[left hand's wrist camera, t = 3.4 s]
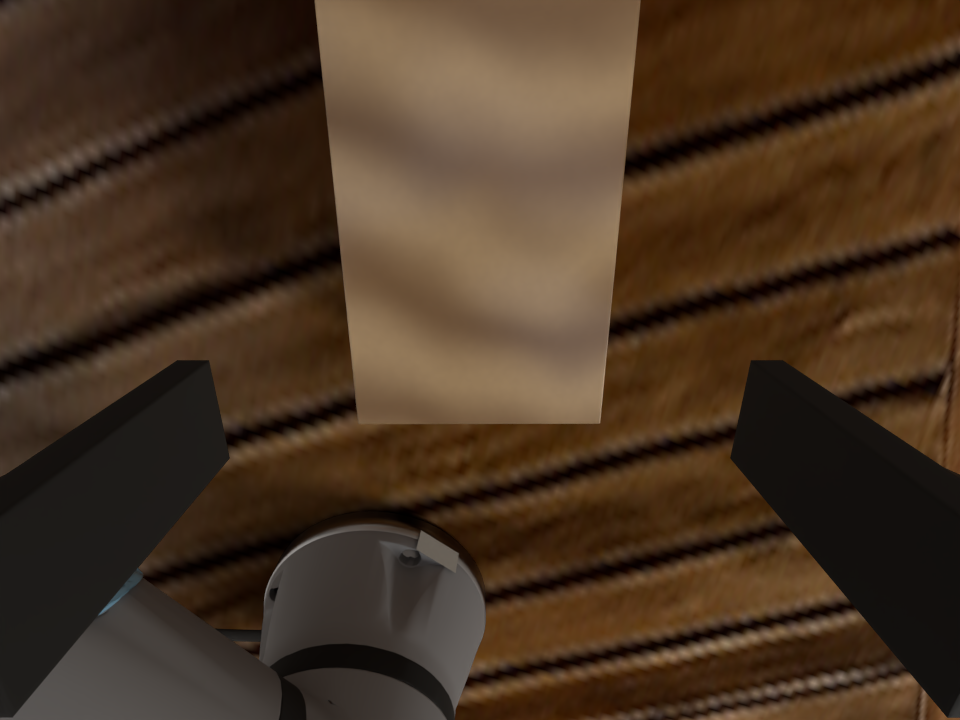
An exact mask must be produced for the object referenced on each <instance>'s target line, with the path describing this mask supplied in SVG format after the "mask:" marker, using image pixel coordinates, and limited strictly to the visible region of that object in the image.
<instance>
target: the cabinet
mask: <svg viewBox="0 0 960 720" xmlns="http://www.w3.org/2000/svg"><path fill="white" fill-rule="evenodd" d="M640 1H641V0H315V10H316V19H317V29H318V39H319V48H320V58H321V68H322V77H323V87H324V97H325V106H326V116H327V126H328V136H329V145H330V155H331V165H332V174H333V184H334V194H335V203H336V213H337V223H338V232H339V242H340V252H341V261H342V271H343V281H344V291H345V300H346V310H347V320H348V329H349V339H350V349H351V358H352V368H353V378H354V387H355V397H356V407H357V417H358V424H599V423H600V419H601V409H602V398H603V388H604V377H605V367H606V356H607V346H608V335H609V325H610V314H611V304H612V294H613V283H614V273H615V262H616V252H617V241H618V231H619V220H620V210H621V199H622V189H623V179H624V168H625V158H626V147H627V137H628V126H629V116H630V105H631V95H632V84H633V74H634V64H635V53H636V43H637V32H638V22H639V11H640Z"/></svg>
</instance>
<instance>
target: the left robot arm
mask: <svg viewBox="0 0 960 720" xmlns="http://www.w3.org/2000/svg"><path fill="white" fill-rule="evenodd" d="M229 458H230V457H229V453H228V448H227V443H226V439H225V434H224V429H223V425H222V420H221V415H220V410H219V406H218V401H217V396H216V392H215V387H214V382H213V377H212V373H211V368H210V363H209V360H177V361H176V362H174V363H173V364H171V365H170V366H168V367H167V368H165V369H164V370H162V371H161V372H159V373H158V374H156V375H155V376H153V377H152V378H150V379H149V380H147V381H146V382H144V383H143V384H141V385H140V386H138V387H137V388H135V389H134V390H132V391H131V392H129V393H128V394H126V395H125V396H123V397H122V398H120V399H119V400H117V401H116V402H114V403H113V404H111V405H110V406H108V407H107V408H105V409H104V410H102V411H101V412H99V413H98V414H96V415H95V416H93V417H92V418H90V419H89V420H87V421H86V422H84V423H83V424H81V425H80V426H78V427H77V428H75V429H74V430H72V431H71V432H69V433H68V434H66V435H65V436H63V437H62V438H60V439H59V440H57V441H56V442H54V443H53V444H51V445H50V446H48V447H46V448H45V449H43V450H42V451H40V452H39V453H37V454H36V455H34V456H33V457H31V458H30V459H28V460H27V461H25V462H24V463H22V464H21V465H19V466H18V467H16V468H15V469H13V470H12V471H10V472H9V473H7V474H6V475H4V476H1V477H0V720H455V710H456V707H457V704H458V701H459V699H460V696H461V693H462V691H463V688H464V685H465V683H466V680H467V677H468V675H469V672H470V669H471V666H472V663H473V661H474V658H475V655H476V652H477V650H478V647H479V645H480V642H481V640H482V638H483V634H484V630H485V623H486V605H485V587H484V582H483V578H482V576H481V573H480V571H479V569H478V567H477V565H476V563H475V561H474V560H473V559H472V557H471V556H470V554H469V553H468V552H467V551H466V550H465V549H464V547H463V546H461V545H460V544H459V543H458V542H457V541H456V540H455V539H453V538H452V537H451V536H450V535H448V534H447V533H445V532H444V531H442V530H440V529H439V528H437V527H435V526H433V525H431V524H429V523H426V522H424V521H422V520H419V519H416V518H413V517H409V516H405V515H401V514H396V513H389V512H377V511H373V512H355V513H349V514H343V515H339V516H335V517H332V518H329V519H327V520H324V521H322V522H320V523H317V524H315V525H314V526H312V527H310V528H308V529H307V530H305V531H304V532H303V533H301V534H300V535H299V536H298V537H297V538H295V539H294V540H293V541H292V542H291V544H290V545H289V546H288V547H287V548H286V550H285V551H284V553H283V554H282V556H281V558H280V560H279V562H278V564H277V566H276V568H275V570H274V572H273V574H272V576H271V578H270V580H269V582H268V585H267V588H266V592H265V597H264V612H263V613H264V618H263V624H262V630H233V629H214V628H213V627H212V626H210V625H209V624H207V623H206V622H204V621H203V620H202V619H200V618H199V617H197V616H196V615H195V614H193V613H192V612H190V611H189V610H187V609H186V608H185V607H183V606H182V605H180V604H179V603H178V602H176V601H175V600H173V599H172V598H170V597H169V596H168V595H166V594H165V593H163V592H162V591H161V590H159V589H158V588H156V587H155V586H153V585H152V584H151V583H149V582H148V581H146V580H145V579H144V578H142V577H143V573H142V572H141V571H140V570H139V569H138V567H139V566H140V565H141V564H142V562H143V561H144V560H145V559H146V558H147V556H148V555H149V554H150V553H151V552H152V550H153V549H154V548H155V547H156V546H157V544H158V543H159V542H160V541H161V540H162V538H163V537H164V536H165V535H166V534H167V532H168V531H169V530H170V529H171V528H172V526H173V525H174V524H175V523H176V522H177V521H178V519H179V518H180V517H181V516H182V515H183V513H184V512H185V511H186V510H187V509H188V507H189V506H190V505H191V504H192V503H193V501H194V500H195V499H196V498H197V497H198V495H199V494H200V493H201V492H202V491H203V489H204V488H205V487H206V486H207V485H208V483H209V482H210V481H211V480H212V479H213V477H214V476H215V475H216V474H217V473H218V472H219V470H220V469H221V468H222V467H223V466H224V464H225V463H226V462H227V461H228V460H229ZM730 458H731V460H732V461H733V462H734V463H735V464H736V466H737V467H738V468H739V469H740V470H741V472H742V473H743V474H744V475H745V476H746V477H747V479H748V480H749V481H750V482H751V483H752V485H753V486H754V487H755V488H756V489H757V491H758V492H759V493H760V494H761V495H762V497H763V498H764V499H765V500H766V501H767V503H768V504H769V505H770V506H771V507H772V509H773V510H774V511H775V512H776V513H777V515H778V516H779V517H780V518H781V519H782V521H783V522H784V523H785V524H786V525H787V526H788V528H789V529H790V530H791V531H792V532H793V534H794V535H795V536H796V537H797V538H798V540H799V541H800V542H801V543H802V544H803V546H804V547H805V548H806V549H807V550H808V552H809V553H810V554H811V555H812V556H813V558H814V559H815V560H816V561H817V562H818V564H819V565H820V566H821V567H822V568H823V570H824V571H825V572H826V573H827V574H828V575H829V577H830V578H831V579H832V580H833V581H834V583H835V584H836V585H837V586H838V587H839V589H840V590H841V591H842V592H843V593H844V595H845V596H846V597H847V598H848V599H849V601H850V602H851V603H852V604H853V605H854V607H855V608H856V609H857V610H858V611H859V613H860V614H861V615H862V616H863V617H864V619H865V620H866V621H867V622H868V623H869V624H870V626H871V627H872V628H873V629H874V630H875V632H876V633H877V634H878V635H879V636H880V638H881V639H882V640H883V641H884V642H885V644H886V645H887V646H888V647H889V648H890V650H891V651H892V652H893V653H894V654H895V656H896V657H897V658H898V659H899V660H900V662H901V663H902V664H903V665H904V666H905V668H906V669H907V670H908V671H909V672H910V674H911V675H912V676H913V677H914V678H915V679H916V681H917V682H918V683H919V684H920V685H921V687H922V688H923V689H924V690H925V691H926V693H927V694H928V695H929V696H930V697H931V699H932V700H933V701H934V702H935V703H936V705H937V706H938V707H939V708H940V709H941V711H942V712H943V713H944V714H945V715H946V717H947V718H960V475H959V474H957V473H955V472H953V471H950V470H948V469H946V468H944V467H942V466H941V465H939V464H938V463H936V462H935V461H933V460H932V459H930V458H929V457H927V456H926V455H924V454H923V453H921V452H920V451H918V450H917V449H915V448H914V447H912V446H910V445H909V444H907V443H906V442H904V441H903V440H901V439H900V438H898V437H897V436H895V435H894V434H892V433H891V432H889V431H888V430H886V429H885V428H883V427H882V426H880V425H879V424H877V423H876V422H874V421H873V420H871V419H870V418H868V417H867V416H865V415H864V414H862V413H861V412H859V411H858V410H856V409H855V408H853V407H852V406H850V405H849V404H847V403H846V402H844V401H843V400H841V399H840V398H838V397H837V396H835V395H834V394H832V393H831V392H829V391H828V390H826V389H825V388H823V387H822V386H820V385H819V384H817V383H816V382H814V381H813V380H811V379H810V378H808V377H807V376H805V375H804V374H802V373H801V372H799V371H798V370H796V369H795V368H793V367H792V366H790V365H789V364H787V363H786V362H784V361H783V360H751V363H750V368H749V373H748V377H747V382H746V387H745V392H744V396H743V401H742V406H741V410H740V415H739V420H738V424H737V429H736V434H735V439H734V443H733V448H732V453H731V457H730ZM233 641H251V642H261V645H260V657H259V660H258V659H257V658H255V657H254V656H253V655H251V654H250V653H248V652H247V651H246V650H244V649H243V648H241V647H240V646H238V645H237V644H236V643H234V642H233Z"/></svg>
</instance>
